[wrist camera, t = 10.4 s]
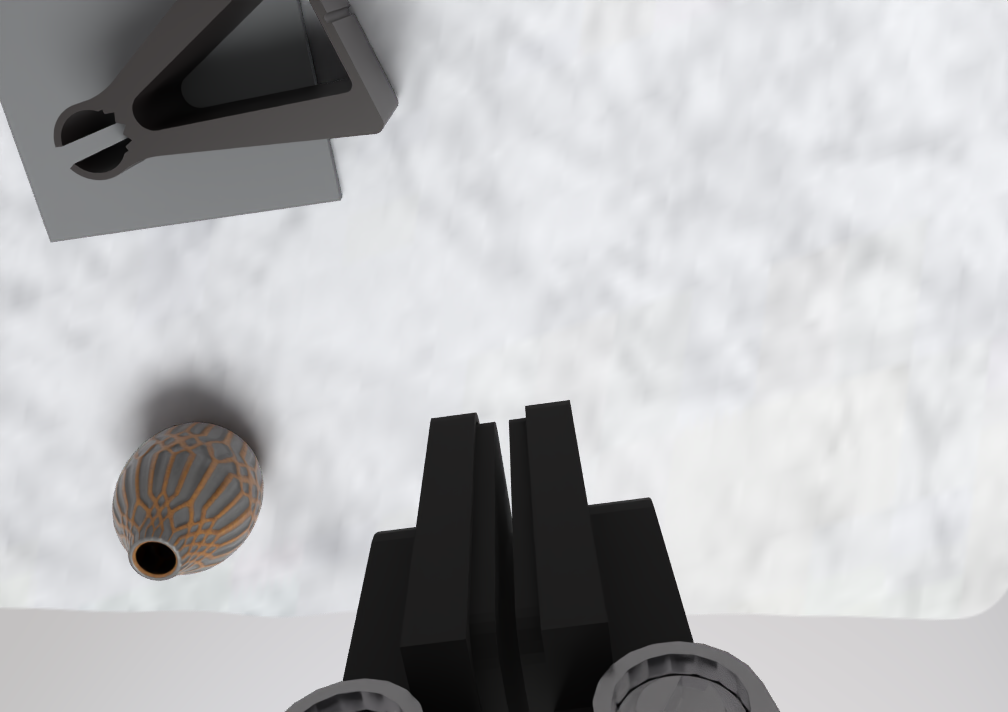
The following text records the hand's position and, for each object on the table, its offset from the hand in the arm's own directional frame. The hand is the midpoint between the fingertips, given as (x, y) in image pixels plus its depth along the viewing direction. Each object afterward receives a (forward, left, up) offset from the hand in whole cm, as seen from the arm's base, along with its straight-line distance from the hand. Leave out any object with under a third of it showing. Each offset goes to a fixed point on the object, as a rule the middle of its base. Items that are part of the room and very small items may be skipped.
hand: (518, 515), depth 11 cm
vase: (+18, +16, -33) cm, 41 cm away
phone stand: (+6, -5, -30) cm, 30 cm away
